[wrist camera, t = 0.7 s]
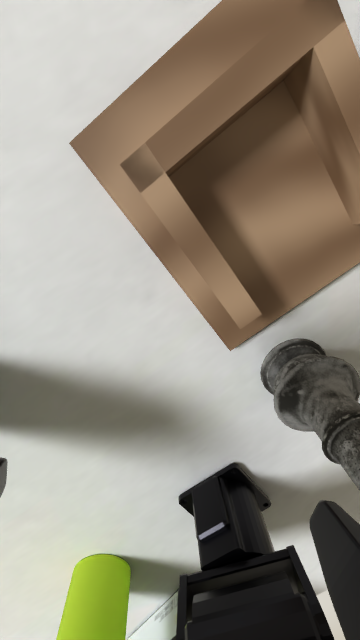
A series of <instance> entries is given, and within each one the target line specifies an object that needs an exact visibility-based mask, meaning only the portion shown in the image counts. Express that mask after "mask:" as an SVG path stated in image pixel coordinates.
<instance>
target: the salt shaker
mask: <svg viewBox="0 0 360 640" xmlns="http://www.w3.org/2000/svg"><path fill="white" fill-rule="evenodd" d="M261 380H262V382H263V384H264V387H265V388H266V389H267V390H268V391H269V392H270V393H271V394H273V395H274V408H275V411H276V413H277V415H278V417H279V419H280V420H281V421H282V422H283V423H284V424H285V425H287V426H289V427H290V428H292V429H295V430H299V431H315V432H316V434H317V435H318V437H319V438H320V439H321V441H322V450H323V452H324V454H325V456H326V457H327V458H328V459H329V460H330V461H332V462H334V463H336V464H341V466H342V467H343V468H344V470H345V471H346V473H347V474H348V475H349V477H350V478H351V479H352V481H353V482H354V483H355V485H356V486H357V488H358V489H359V490H360V404H359V403H358V402H357V401H358V398H359V395H360V379H359V375H358V373H357V372H356V370H355V369H354V368H353V366H352V365H350V364H349V363H347V362H346V361H344V360H342V359H339V358H335V357H329V356H326V355H325V352H324V351H323V350H322V348H321V347H320V346H319V345H317V344H316V343H314V342H313V341H310V340H307V339H292V340H288V341H285V342H283V343H281V344H279V345H277V346H276V347H275V348H274V349H272V350H271V351H270V352H269V354H268V355H267V356H266V357H265V359H264V362H263V364H262V367H261Z"/></svg>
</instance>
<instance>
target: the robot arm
mask: <svg viewBox="0 0 360 640" xmlns="http://www.w3.org/2000/svg"><path fill="white" fill-rule="evenodd" d="M6 477H7V459H5V458H0V497H1V495H2V493H3V491H4V488H5V485H6ZM179 504H180V505H181V506H182V507H183V508H185V509H186V510H187V511H188V512H189V513H190V514H191V515H192V516H194V519H195V528H196V537H197V540H198V547H199V555H200V564H201V570H202V571H200V572H197V573H193V574H189V575H188V574H183V575H180V588H179V589H178V604H177V627H176V640H334V637H333V635H332V632H331V630H330V627H329V625H328V622H327V620H326V617H325V615H324V612H323V610H322V608H321V606H320V603H319V601H318V599H317V597H316V594H315V592H314V590H313V588H312V585H311V583H310V581H309V579H308V577H307V574H306V572H305V570H304V568H303V565H302V563H301V561H300V559H299V557H298V554H297V552H296V550H295V548H294V546H293V545H292V546H288V547H286V548H287V549H283V550H279V551H274V548H273V545H272V542H271V539H270V536H269V533H268V530H267V527H266V524H265V522H264V519H263V516H262V513H261V512H262V511H263V510H265V509H267V508H269V507H270V506H271V502H270V500H269V498H268V497H267V496H266V495H265V494H264V493H263V492H262V491H261V490H260V488H259V487H258V486H257V485H256V484H255V483H254V482H253V481H252V480H251V479H250V478H249V477H248V476H247V475H246V473H245V472H244V471H243V470H242V469H241V468H240V467H239V466H238V465H237V464H231V465H229V466H227V467H226V468H224V469H222V470H221V471H219V472H217V473H216V474H214V475H213V476H211V477H209V478H208V479H206V480H204V481H203V482H201V483H199V484H198V485H196V486H194V487H193V488H191V489H189V490H188V491H186V492H184V493H183V494H181V495H180V496H179ZM310 530H311V533H312V537H313V540H314V544H315V547H316V551H317V554H318V558H319V561H320V564H321V568H322V571H323V575H324V578H325V582H326V585H327V588H328V592H329V595H330V597H331V600H332V603H333V606H334V609H335V611H336V614H337V617H338V620H339V622H340V625H341V627H342V630H343V633H344V636H345V639H346V640H360V525H359V524H358V523H357V522H356V521H355V520H354V519H353V518H352V517H351V516H350V515H348V514H347V513H346V512H345V511H344V510H343V509H342V508H341V507H340V506H339V505H337V504H336V503H334V502H331V501H324V500H322V501H320V502H319V503H318V505H317V506H316V508H315V510H314V512H313V514H312V516H311V518H310Z"/></svg>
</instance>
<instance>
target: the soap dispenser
mask: <svg viewBox="0 0 360 640" xmlns="http://www.w3.org/2000/svg"><path fill="white" fill-rule="evenodd" d="M130 576H131V569H130V566H129V565H128V563H127V562H126V561H124V560H123V559H121V558H119V557H117V556H113V555H108V554H98V555H92V556H89V557H86V558H84V559H82V560H81V561H80V562H78V563H77V565H76V566H75V568H74V571H73V575H72V579H71V583H70V587H69V591H68V595H67V599H66V603H65V607H64V611H63V615H62V619H61V623H60V627H59V631H58V635H57V639H56V640H125V635H126V623H127V611H128V600H129V588H130Z"/></svg>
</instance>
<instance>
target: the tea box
mask: <svg viewBox="0 0 360 640" xmlns="http://www.w3.org/2000/svg"><path fill="white" fill-rule="evenodd" d="M177 604H178V591H177V592H176V593H175V594H174V595H173V596H172V597H171V598H170V599H169V600H168V601H167V602H166V603H165V604H164V605H163V606H162V607H161V608H159V609H158V610H157V611H156V612H155V613H154V614H153V615H152V616H151V617H150V618H149V619H148V620H147V621H146V622H145V623H144V624H143V625H142V626H141V627H140V628H139V629H138V630H137V631H136V632H134V633H133V634H132V635H131V636H130V637H129V638H128V639H127V640H176V627H177Z"/></svg>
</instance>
